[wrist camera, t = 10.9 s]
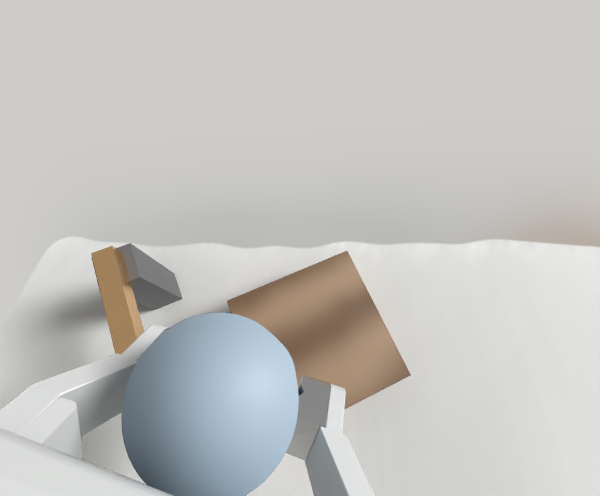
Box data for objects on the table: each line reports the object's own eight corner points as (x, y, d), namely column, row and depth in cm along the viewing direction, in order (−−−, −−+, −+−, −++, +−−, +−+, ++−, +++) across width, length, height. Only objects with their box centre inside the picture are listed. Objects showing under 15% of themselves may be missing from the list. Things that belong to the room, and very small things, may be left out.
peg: (308, 397, 15) (327, 450, 7) (232, 435, 15) (148, 547, 6) (277, 322, 16) (260, 287, 8) (205, 354, 16) (103, 354, 7)
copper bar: (223, 621, 17) (218, 645, 16) (198, 636, 17) (190, 662, 16) (122, 252, 24) (111, 245, 23) (102, 259, 24) (91, 253, 22)
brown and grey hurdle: (256, 528, 27) (239, 624, 17) (223, 547, 26) (188, 656, 17) (174, 273, 34) (130, 243, 24) (147, 284, 33) (91, 257, 24)
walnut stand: (388, 371, 31) (410, 375, 26) (280, 425, 29) (278, 442, 24) (337, 267, 35) (347, 250, 29) (237, 309, 33) (226, 301, 27)
